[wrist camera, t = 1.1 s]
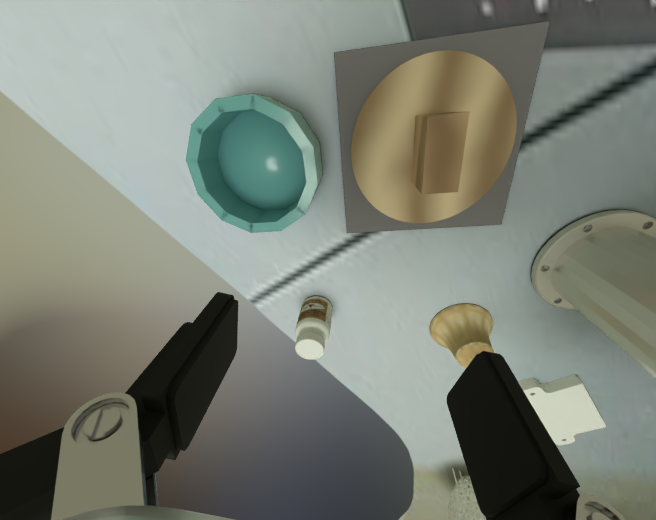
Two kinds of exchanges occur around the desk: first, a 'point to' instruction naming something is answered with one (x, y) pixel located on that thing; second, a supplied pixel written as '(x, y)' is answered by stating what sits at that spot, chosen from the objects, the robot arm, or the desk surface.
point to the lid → (433, 136)
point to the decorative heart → (463, 501)
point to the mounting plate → (563, 407)
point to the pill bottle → (313, 327)
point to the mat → (377, 62)
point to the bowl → (254, 162)
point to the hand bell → (463, 331)
